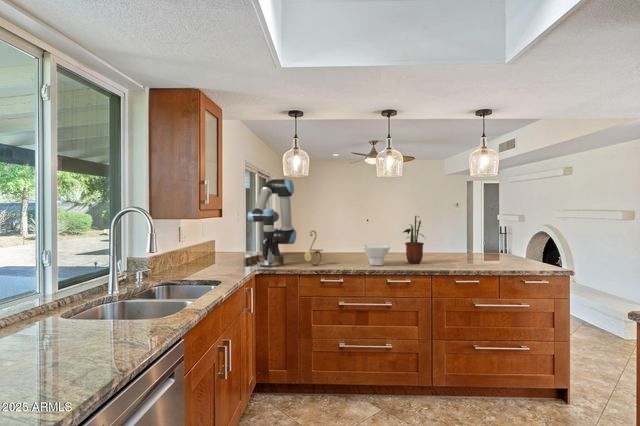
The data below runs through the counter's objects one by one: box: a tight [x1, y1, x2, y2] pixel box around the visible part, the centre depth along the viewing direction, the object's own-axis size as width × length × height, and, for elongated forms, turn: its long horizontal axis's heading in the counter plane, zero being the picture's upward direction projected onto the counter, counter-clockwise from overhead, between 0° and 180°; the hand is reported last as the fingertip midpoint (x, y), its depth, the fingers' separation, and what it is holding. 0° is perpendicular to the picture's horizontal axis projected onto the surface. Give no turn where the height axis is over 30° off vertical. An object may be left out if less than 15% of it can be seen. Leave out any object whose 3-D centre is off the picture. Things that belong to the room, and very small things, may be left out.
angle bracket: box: [256, 251, 273, 266], centre depth 269 cm, size 9×6×9 cm, turn 67°
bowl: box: [362, 244, 391, 266], centre depth 272 cm, size 19×19×14 cm
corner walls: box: [243, 254, 285, 267], centre depth 273 cm, size 18×22×6 cm
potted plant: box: [402, 215, 426, 265], centre depth 278 cm, size 17×16×35 cm
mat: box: [259, 264, 275, 269], centre depth 269 cm, size 10×13×1 cm
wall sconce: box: [304, 230, 325, 266], centre depth 274 cm, size 14×10×25 cm
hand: (269, 264), depth 268 cm, fingers closed on angle bracket, 6 cm apart
